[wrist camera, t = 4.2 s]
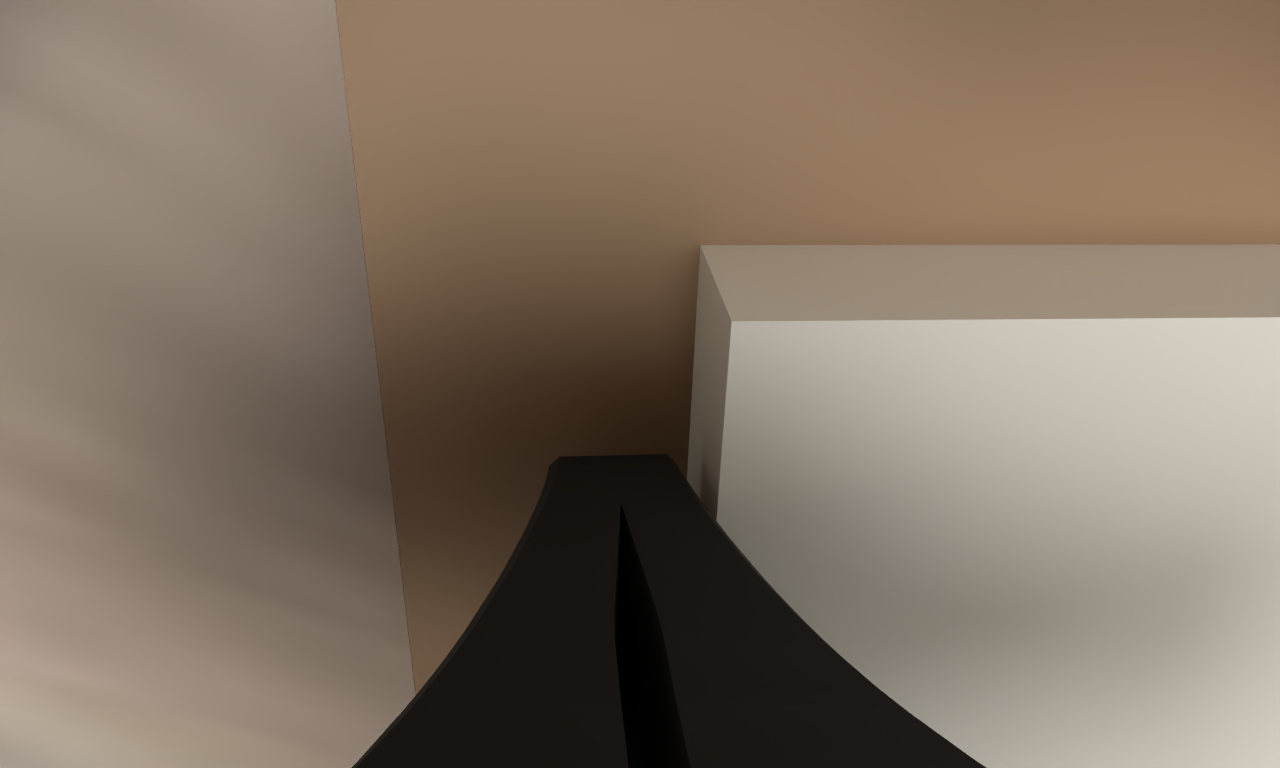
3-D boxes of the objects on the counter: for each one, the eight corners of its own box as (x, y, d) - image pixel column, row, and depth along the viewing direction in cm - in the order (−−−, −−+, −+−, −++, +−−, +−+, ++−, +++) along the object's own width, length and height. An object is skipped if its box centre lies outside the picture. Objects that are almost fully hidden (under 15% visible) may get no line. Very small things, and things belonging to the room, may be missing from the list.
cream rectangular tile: (1309, 650, 13) (1424, 766, 11) (675, 675, 12) (694, 802, 11) (1497, 243, 10) (1687, 314, 9) (700, 244, 10) (731, 321, 8)
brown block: (1039, 683, 16) (1100, 780, 14) (444, 706, 15) (429, 814, 13) (1247, -19, 11) (1381, -4, 9) (372, -38, 10) (332, -24, 8)
